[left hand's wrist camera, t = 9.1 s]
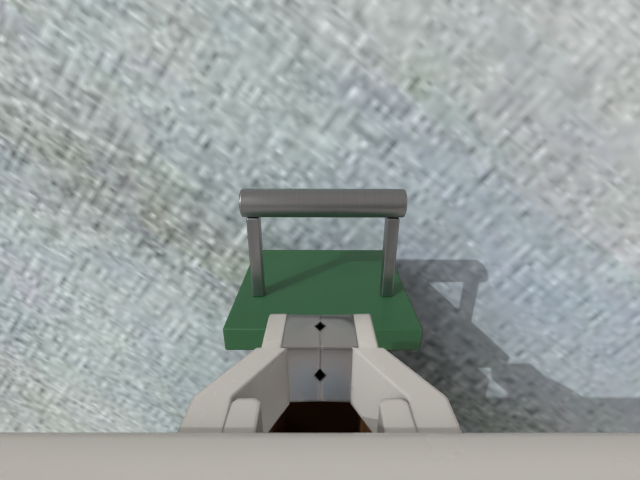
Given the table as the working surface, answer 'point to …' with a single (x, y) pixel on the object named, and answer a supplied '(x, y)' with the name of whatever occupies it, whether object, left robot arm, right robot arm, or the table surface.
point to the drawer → (322, 286)
